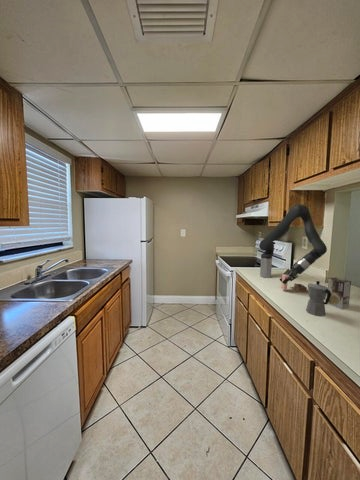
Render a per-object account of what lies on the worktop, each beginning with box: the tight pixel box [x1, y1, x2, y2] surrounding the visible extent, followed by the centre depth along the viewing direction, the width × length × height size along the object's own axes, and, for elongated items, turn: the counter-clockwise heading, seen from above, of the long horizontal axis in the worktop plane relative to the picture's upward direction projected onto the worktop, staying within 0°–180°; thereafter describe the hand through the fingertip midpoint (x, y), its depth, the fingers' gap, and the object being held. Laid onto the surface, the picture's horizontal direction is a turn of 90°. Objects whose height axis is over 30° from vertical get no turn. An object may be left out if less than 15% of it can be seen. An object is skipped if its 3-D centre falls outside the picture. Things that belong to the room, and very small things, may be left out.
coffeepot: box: [305, 280, 331, 317], centre depth 112 cm, size 15×9×18 cm, turn 6°
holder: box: [289, 282, 308, 294], centre depth 148 cm, size 12×10×5 cm
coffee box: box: [327, 277, 352, 310], centre depth 123 cm, size 9×6×16 cm
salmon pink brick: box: [281, 273, 289, 291], centre depth 145 cm, size 5×2×10 cm, turn 173°
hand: (281, 281), depth 146 cm, fingers closed on salmon pink brick, 5 cm apart
